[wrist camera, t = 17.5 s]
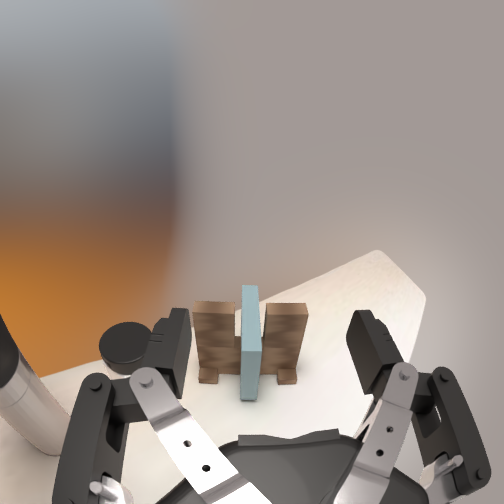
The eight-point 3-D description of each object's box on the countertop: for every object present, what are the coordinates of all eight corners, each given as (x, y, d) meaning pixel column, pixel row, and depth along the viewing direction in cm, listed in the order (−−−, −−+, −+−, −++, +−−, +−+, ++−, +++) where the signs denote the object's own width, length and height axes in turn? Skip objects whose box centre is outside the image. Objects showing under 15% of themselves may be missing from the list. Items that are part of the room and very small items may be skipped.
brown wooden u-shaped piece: (199, 382, 41) (189, 323, 35) (203, 352, 48) (197, 291, 41) (295, 383, 42) (311, 325, 35) (290, 353, 48) (302, 293, 41)
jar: (126, 367, 42) (107, 318, 36) (170, 369, 43) (157, 319, 37) (118, 408, 34) (90, 363, 29) (166, 412, 35) (148, 368, 30)
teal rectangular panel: (256, 399, 38) (261, 351, 32) (240, 399, 38) (241, 350, 32) (254, 337, 50) (257, 285, 45) (240, 336, 50) (242, 285, 45)
